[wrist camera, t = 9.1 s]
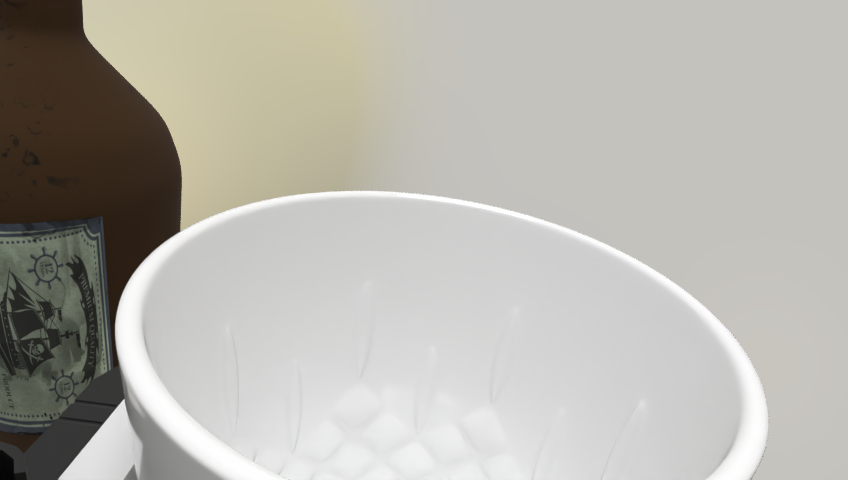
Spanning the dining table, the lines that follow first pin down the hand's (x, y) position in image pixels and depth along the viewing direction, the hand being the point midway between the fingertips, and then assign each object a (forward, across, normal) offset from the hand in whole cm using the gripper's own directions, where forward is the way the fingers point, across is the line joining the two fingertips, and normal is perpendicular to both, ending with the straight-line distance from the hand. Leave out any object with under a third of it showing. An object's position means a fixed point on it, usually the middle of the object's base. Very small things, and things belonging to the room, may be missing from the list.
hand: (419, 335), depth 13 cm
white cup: (-5, 0, -6) cm, 8 cm away
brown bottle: (+12, -17, -17) cm, 27 cm away
